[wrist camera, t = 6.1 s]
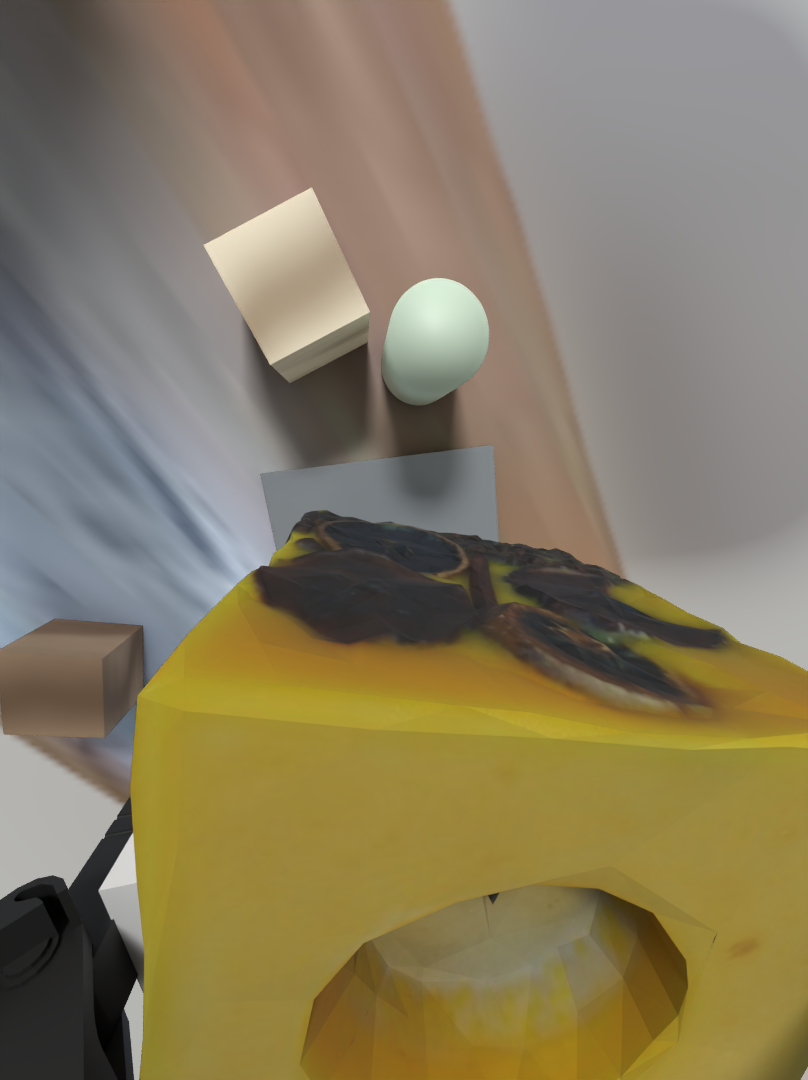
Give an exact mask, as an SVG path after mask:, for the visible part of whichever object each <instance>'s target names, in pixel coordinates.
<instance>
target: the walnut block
mask: <svg viewBox="0 0 808 1080" xmlns="http://www.w3.org/2000/svg"><path fill="white" fill-rule="evenodd" d="M142 690H143V626H140V625H127V624H115V623H102V622H89V621H77V620H64V619H53V620H52V621H50V622H48V623H46V624H44V625H43V626H41V627H39V628H37V629H35V630H34V631H32V632H30V633H28V634H26V635H25V636H23V637H21V638H19V639H18V640H16V641H14V642H12V643H10V644H9V645H7V646H5V647H3V648H1V649H0V702H1V711H2V721H3V731H4V734H10V735H36V736H61V737H86V738H105V737H106V736H107V735H108V734H109V733H110V732H111V730H112V729H113V728H114V727H115V726H116V725H117V724H118V722H119V721H120V720H121V719H122V718H123V717H124V716H125V715H126V713H127V712H128V711H129V710H130V709H131V708H132V707H133V705H134V704H135V703H136V702H137V696H138V695H139V693H140V692H141V691H142Z"/></svg>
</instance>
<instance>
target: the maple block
mask: <svg viewBox="0 0 808 1080" xmlns="http://www.w3.org/2000/svg"><path fill="white" fill-rule="evenodd" d="M204 247H205V249H206V250H207V252H208V254H209V256H210V258H211V259H212V261H213V263H214V265H215V267H216V268H217V270H218V272H219V274H220V276H221V277H222V279H223V281H224V283H225V285H226V286H227V288H228V290H229V292H230V294H231V295H232V297H233V299H234V301H235V303H236V304H237V306H238V308H239V310H240V312H241V313H242V315H243V317H244V319H245V321H246V322H247V324H248V326H249V328H250V330H251V331H252V333H253V335H254V337H255V338H256V340H257V342H258V344H259V346H260V347H261V349H262V351H263V353H264V355H265V356H266V358H267V360H268V362H269V364H270V365H271V366H272V367H273V368H274V369H275V370H276V371H277V372H278V373H279V374H281V375H282V376H283V377H284V378H285V379H286V380H287V381H288V382H289V383H292V382H294V381H295V380H297V379H299V378H301V377H303V376H305V375H307V374H309V373H311V372H312V371H314V370H316V369H318V368H320V367H322V366H324V365H326V364H328V363H329V362H331V361H333V360H335V359H337V358H339V357H341V356H343V355H345V354H346V353H348V352H350V351H352V350H354V349H356V348H358V347H360V346H362V345H363V344H365V343H367V342H368V330H369V317H370V311H369V309H368V307H367V305H366V303H365V301H364V298H363V296H362V294H361V292H360V290H359V288H358V286H357V283H356V281H355V279H354V277H353V275H352V273H351V271H350V268H349V266H348V264H347V262H346V260H345V258H344V255H343V253H342V251H341V249H340V247H339V245H338V243H337V240H336V238H335V236H334V234H333V232H332V230H331V228H330V225H329V223H328V221H327V219H326V217H325V215H324V213H323V210H322V208H321V206H320V204H319V202H318V200H317V198H316V195H315V193H314V191H313V189H312V188H310V189H308V190H306V191H304V192H302V193H300V194H299V195H297V196H295V197H293V198H291V199H289V200H287V201H285V202H284V203H282V204H280V205H278V206H276V207H274V208H272V209H270V210H269V211H267V212H265V213H263V214H261V215H259V216H257V217H255V218H254V219H252V220H250V221H248V222H246V223H244V224H242V225H240V226H239V227H237V228H235V229H233V230H231V231H229V232H227V233H225V234H224V235H222V236H220V237H218V238H216V239H214V240H212V241H210V242H209V243H207V244H205V245H204Z"/></svg>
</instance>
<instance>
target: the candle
mask: <svg viewBox="0 0 808 1080" xmlns="http://www.w3.org/2000/svg"><path fill="white" fill-rule="evenodd" d="M130 794H131V808H132V823H133V837H134V851H135V865H136V879H137V890H138V899H139V908H140V918H141V927H142V936H143V946H144V1005H143V1043H142V1055H141V1067H140V1079H139V1080H801V1078H802V1076H803V1074H804V1072H805V1071H806V1069H807V1067H808V671H806V670H804V669H803V668H801V667H799V666H797V665H795V664H793V663H791V662H790V661H788V660H786V659H784V658H782V657H780V656H777V655H774V654H771V653H768V652H765V651H762V650H759V649H756V648H753V647H750V646H747V645H744V644H741V643H740V642H739V641H737V640H736V639H735V638H734V637H733V636H732V635H731V634H729V633H728V632H727V631H726V630H725V629H724V628H721V627H719V626H717V625H715V624H712V623H710V622H708V621H705V620H703V619H701V618H699V617H696V616H694V615H692V614H689V613H687V612H685V611H684V610H682V609H680V608H679V607H677V606H675V605H673V604H672V603H670V602H668V601H666V600H664V599H663V598H661V597H659V596H657V595H655V594H653V593H651V592H649V591H647V590H646V589H644V588H643V587H641V586H639V585H637V584H635V583H632V582H630V581H628V580H626V579H621V578H620V576H619V575H616V574H614V573H612V572H610V571H608V570H606V569H604V568H602V567H599V566H596V565H589V564H583V563H582V562H580V561H578V560H577V559H576V558H574V557H573V556H572V555H571V554H569V553H567V552H564V551H561V550H559V549H556V548H555V549H552V550H546V549H543V548H541V549H536V548H531V547H529V546H527V545H523V544H508V543H503V544H502V543H500V542H495V541H491V540H482V539H481V538H480V537H479V536H478V535H462V534H456V533H439V532H435V531H429V530H424V529H421V528H417V527H414V526H409V525H401V524H396V523H393V522H391V521H390V522H379V523H371V522H368V521H365V520H361V519H358V518H354V517H341V516H339V515H336V514H334V513H332V512H330V511H327V510H319V511H311V512H307V513H305V514H304V515H303V517H302V518H301V521H299V522H297V523H296V524H295V525H294V526H293V528H292V530H291V533H290V535H289V537H288V539H287V541H286V544H285V545H284V546H283V547H282V548H281V549H279V550H278V551H276V552H275V553H273V556H272V559H271V561H270V565H269V566H260V568H259V569H257V570H254V571H252V572H251V573H250V574H248V575H247V576H246V577H245V578H244V579H243V580H241V581H240V582H239V583H238V584H237V585H236V586H235V587H234V588H233V589H232V590H231V591H230V592H229V593H228V594H227V595H226V596H225V597H224V598H223V599H222V600H221V601H220V602H219V603H218V604H217V605H216V606H215V607H214V608H213V609H212V610H211V611H210V612H209V613H208V614H207V615H206V616H205V617H204V618H203V619H202V620H201V621H200V622H199V623H198V624H197V625H196V626H195V627H194V628H193V629H192V630H191V631H190V632H189V633H188V635H187V636H186V637H185V638H184V639H183V641H182V642H181V643H180V644H179V646H178V647H177V648H176V649H175V650H174V652H173V653H172V654H171V655H170V657H169V658H168V659H167V660H166V661H165V663H164V664H163V665H162V666H161V668H160V669H159V670H158V671H157V673H156V674H155V675H154V676H153V677H152V679H151V680H150V681H149V682H148V684H147V685H146V686H145V687H144V688H143V690H142V691H141V692H140V693H139V695H138V696H137V709H136V721H135V734H134V747H133V760H132V772H131V785H130Z"/></svg>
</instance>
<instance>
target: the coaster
mask: <svg viewBox="0 0 808 1080" xmlns="http://www.w3.org/2000/svg"><path fill="white" fill-rule="evenodd" d="M260 475H261V480H262V485H263V489H264V494H265V499H266V503H267V508H268V513H269V517H270V522H271V527H272V532H273V536H274V541H275V546H276V550H277V551H278V550H279V549H281V548H282V547H283V546H284V545H285V544H286V541H287V539H288V537H289V535H290V533H291V530H292V528H293V526H294V525H295V524H296V523H297V522H299V521H301V518H302V517H303V515H304V514H305V513H307V512H311V511H319V510H327V511H330V512H332V513H334V514H336V515H339V516H341V517H354V518H358V519H361V520H365V521H368V522H371V523H379V522H390V521H391V522H393V523H396V524H401V525H409V526H414V527H417V528H421V529H424V530H429V531H435V532H439V533H456V534H462V535H478V536H479V537H480V538H481V539H482V540H491V541H495V542H499V540H498V522H497V504H496V486H495V468H494V450H493V445H486V446H478V447H470V448H462V449H454V450H446V451H438V452H430V453H422V454H414V455H406V456H398V457H390V458H382V459H374V460H366V461H358V462H350V463H342V464H334V465H326V466H318V467H310V468H302V469H294V470H286V471H278V472H270V473H262V474H260Z"/></svg>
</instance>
